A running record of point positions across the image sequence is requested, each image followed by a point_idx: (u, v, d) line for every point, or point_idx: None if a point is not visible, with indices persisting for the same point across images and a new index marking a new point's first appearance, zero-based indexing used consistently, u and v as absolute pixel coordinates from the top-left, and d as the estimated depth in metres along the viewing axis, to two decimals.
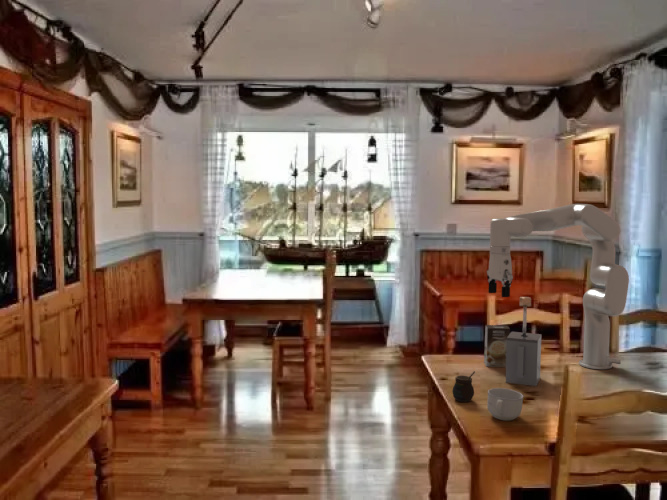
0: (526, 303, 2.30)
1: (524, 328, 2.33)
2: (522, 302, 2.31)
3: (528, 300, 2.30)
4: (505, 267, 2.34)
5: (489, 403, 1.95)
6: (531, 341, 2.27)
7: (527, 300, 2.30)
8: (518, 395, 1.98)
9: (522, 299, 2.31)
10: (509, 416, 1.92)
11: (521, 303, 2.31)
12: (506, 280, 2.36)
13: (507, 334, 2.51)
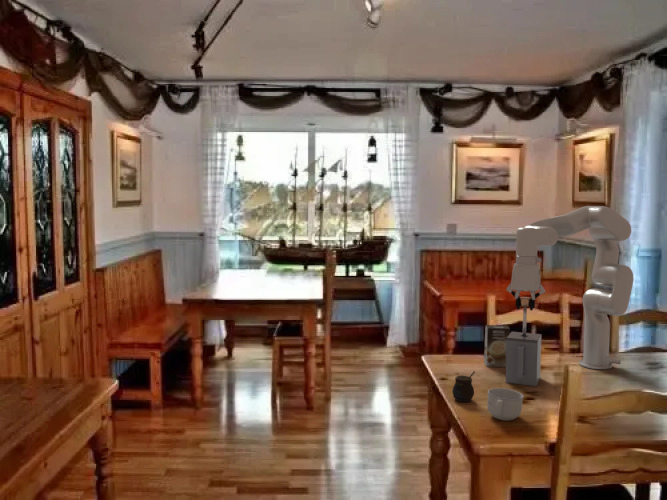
0: (526, 303, 2.30)
1: (524, 328, 2.33)
2: (522, 302, 2.31)
3: (528, 300, 2.30)
4: (539, 277, 2.29)
5: (489, 403, 1.95)
6: (531, 341, 2.27)
7: (527, 300, 2.30)
8: (518, 395, 1.98)
9: (522, 299, 2.31)
10: (509, 416, 1.92)
11: (521, 303, 2.31)
12: None
13: (507, 334, 2.51)
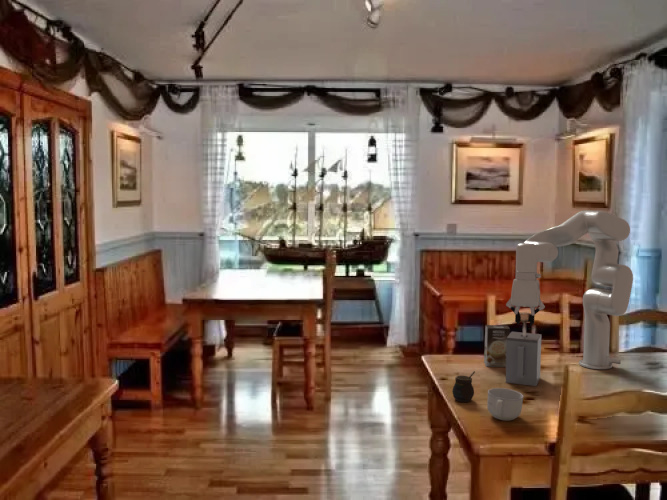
0: (526, 319, 2.31)
1: None
2: (521, 318, 2.32)
3: (528, 316, 2.31)
4: (539, 293, 2.30)
5: (489, 403, 1.95)
6: (531, 341, 2.27)
7: (527, 316, 2.31)
8: (518, 395, 1.98)
9: (522, 315, 2.31)
10: (509, 416, 1.92)
11: (521, 319, 2.32)
12: None
13: (507, 334, 2.51)
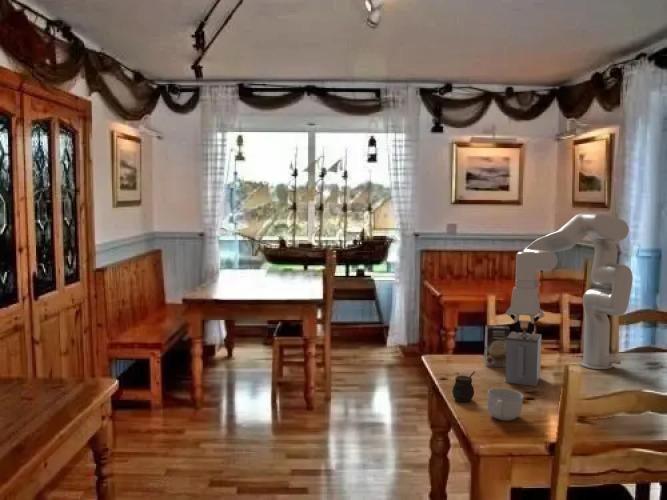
0: (525, 327, 2.31)
1: None
2: (521, 326, 2.32)
3: (527, 324, 2.31)
4: (539, 301, 2.30)
5: (489, 403, 1.95)
6: (531, 341, 2.27)
7: (526, 324, 2.31)
8: (518, 395, 1.98)
9: (521, 323, 2.32)
10: (509, 416, 1.92)
11: (520, 327, 2.32)
12: None
13: (507, 334, 2.51)
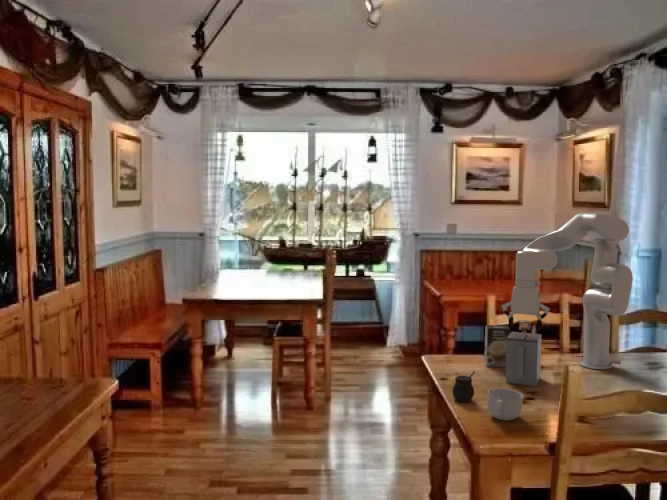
0: (525, 327, 2.31)
1: None
2: (521, 326, 2.32)
3: (527, 324, 2.31)
4: (539, 300, 2.30)
5: (489, 403, 1.95)
6: (531, 341, 2.27)
7: (526, 324, 2.31)
8: (518, 395, 1.98)
9: (521, 323, 2.32)
10: (509, 416, 1.92)
11: (520, 327, 2.32)
12: None
13: (507, 334, 2.51)
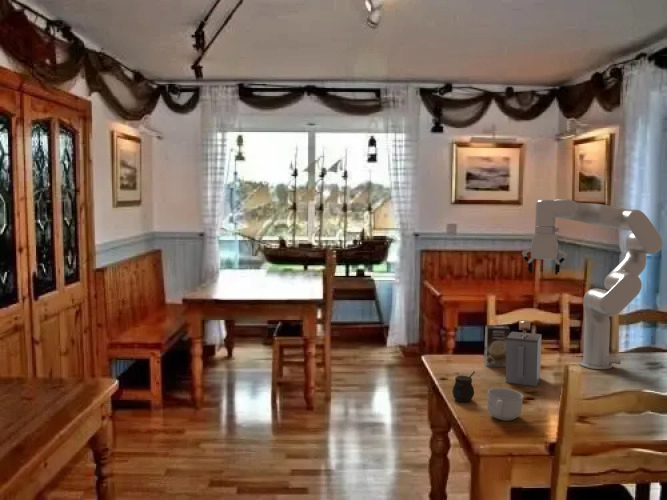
0: (525, 327, 2.31)
1: None
2: (521, 326, 2.32)
3: (527, 324, 2.31)
4: (557, 246, 2.45)
5: (489, 403, 1.95)
6: (531, 341, 2.27)
7: (526, 324, 2.31)
8: (518, 395, 1.98)
9: (521, 323, 2.32)
10: (509, 416, 1.92)
11: (520, 327, 2.32)
12: None
13: (507, 334, 2.51)
